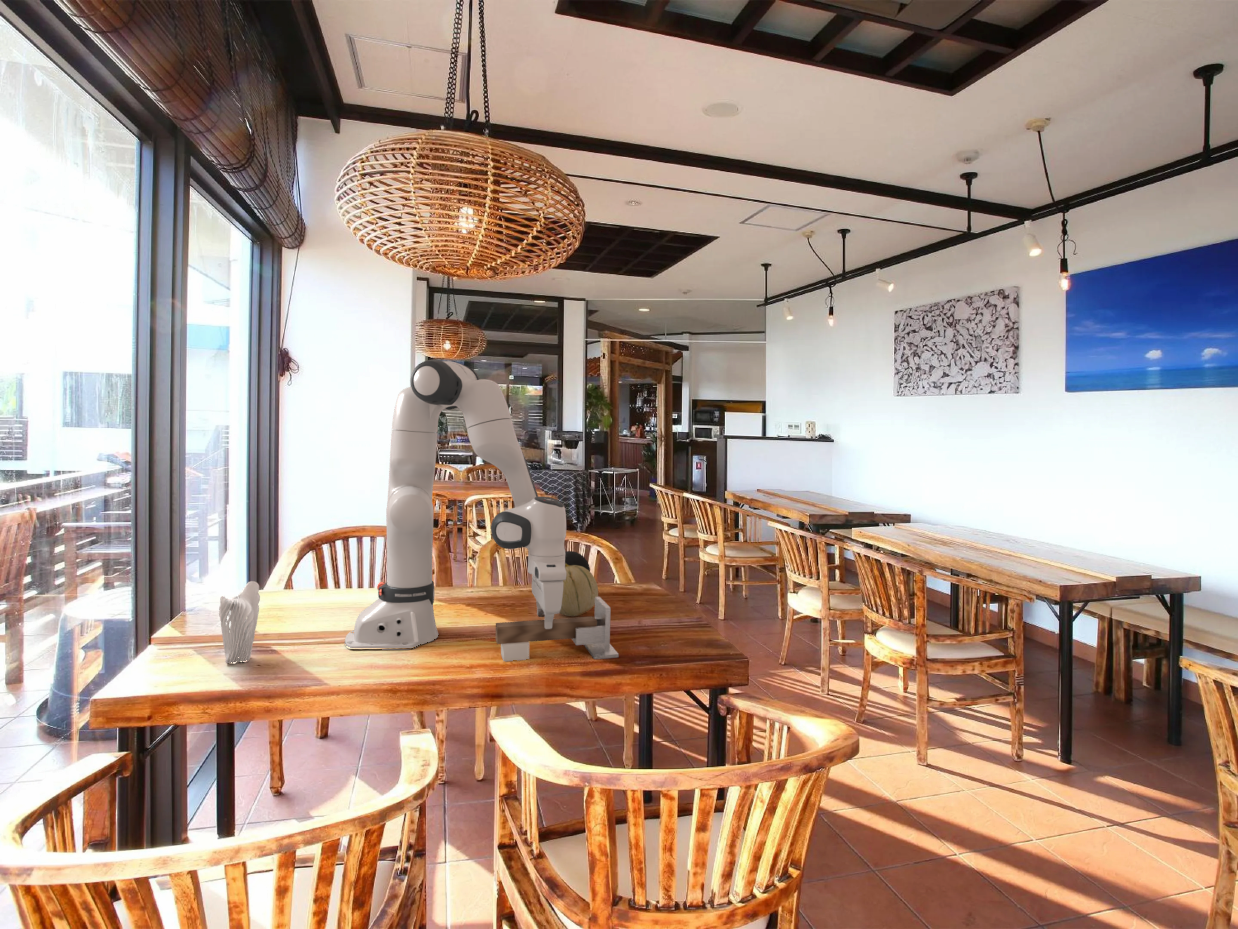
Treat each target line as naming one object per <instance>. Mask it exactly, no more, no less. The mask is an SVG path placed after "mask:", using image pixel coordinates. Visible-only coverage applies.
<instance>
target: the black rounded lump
mask: <svg viewBox="0 0 1238 929" xmlns="http://www.w3.org/2000/svg"><path fill="white" fill-rule="evenodd" d="M565 564H567V565H570V566H572V565H577V566H582V567H584V568H586V569H587V570H589V571H590V572H591V567H590V564H589V562H588V560H587V559H586V558H585V557H584V556H583V555H582V554H581V553H579V552H577V551H573V550H565Z"/></svg>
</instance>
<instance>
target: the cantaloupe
mask: <svg viewBox="0 0 1238 929" xmlns="http://www.w3.org/2000/svg"><path fill="white" fill-rule="evenodd" d="M565 569H566V580H563V597H562V606H561V610H560V613H559V615H562V616H566V617H579V616H581V615H583V614H585V613H587V612H589V611H591V609H593V607H595V597H599V589H598V587H599V586H598V583H597V581H596V580H597V579H596V578H595V576H594V575H593V573H591V570H590V571H589V570H587V569H586V568H584V567H582V566H577V565H572V566H570V565H567V564H565Z"/></svg>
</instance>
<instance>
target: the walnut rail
mask: <svg viewBox="0 0 1238 929" xmlns="http://www.w3.org/2000/svg"><path fill="white" fill-rule="evenodd" d="M544 620H545V619H535V620H521V621H504V622H496V623H495V641H496V642H495V643H496V644H497V645H501V644H507V643H520V642H529V643H530V642H533V643H534V642H543V641H544V642H545V641H556V640H557V641H559V640H569V639H570V640H572V639H573V638H575V628H576V627H590V626H597V620H596V619H595V616H580V617H579V616H576V617H564V618H553V623H552V628H551V629H545V627H544Z"/></svg>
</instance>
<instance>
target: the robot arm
mask: <svg viewBox="0 0 1238 929" xmlns="http://www.w3.org/2000/svg"><path fill="white" fill-rule="evenodd" d="M454 409H459V410H460V412H461V413H462V417H463V418H464V423H465V428H466V431H467V435H468V436H467V437H468V440H469V443H470V445H471V448H472V450H473V452H474V453H475V455H476V456H478V458H480V459H481V460H484V461H485V462H487V463H489V464H491V465H493V466H494V467H496V468H497V469H499V470H500V471H501V473H502V474H503V475H504V477H505V479H506V482H507V485H508V488H509V492H510V494H511V495H510V496H511V498H512V501H513V504H514V507H513V508H509V509H505V510H503V511H501V512H499V513H497V514H496V515H495V516H494V518H493V520H492V521H491V525H490V533H491V536H492V539H493V541H494V542H495V544H496V545H498V546H499V547H500V548H501V549H506V550H515V549H521V548H525V549H527V551H528V552H527V553H528V554H527V555H528V556H527V573H528V574H529V575H532V576H531V593H532V594H533V597H534V598H535V600H536V601H535V602H536V615H537V617H538V618H544V619H543V620H544V627H545V629H551V628H552V623H553V619H555V618H554V617H555V615H556V614H557V615H558V614H559V615H560V610H561V606H562V597H563V580H566V569H565V552H566V550H565V540H566V537H567V515H566V508H565V505H564V504H563V502H562V501H560V500H558V499H557V498H554V497H549V496H539V495H538V492H537V489H536V487H535V483H534V480H533V477H532V474H531V470H530V468H529V465H528V463H527V460H526V457H525V454H524V453H523V450H522V448H521V445H520V443H519V441H518V438H517V435H516V430H515V427H514V424H513V420H512V415H511V412H510V409H509V406H508V403H507V401H506V398H505V396H504V393H503V391H502V388H501V386H500V385H499V384H498V383H497V382H496V381H495V380H491V379H486V378H485V379H484V378H481V377H480V375H479V374H478V373H477V372H476V371H475V370H474V369H473V368H471V367H470V366H468V365H465V364H460V363H458V362H454V361H453V360H452V361H451V360H447V361H445V360H440V359H428V360H424V361H422V362H419V364H417V365H416V366H415V368H414V369H413V370H412V372H411V375H410V386H408V387H406V388H403V389H402V390H400V392H399V393H398V395H397V398H396V402H395V406H394V410H393V416H392V423H391V434H390V435H391V437H390V438H391V439H390V452H389V454H390V455H389V468H388V469H389V471H388V489H387V503H386V582H383V581H380V582H378V583H377V585H376V586H377V587H376V589H377V591H378V592H377V596H378V597H377V600H375V601H374V602H373V603H371V604H370V605H369V606H367V607H366V608H364V609H363V610H362V611H361V612H360V613H359V614H358V616H357V618H356V620H355V624H354V629H353V630H351V631H350V632H348V633H347V634H346V636H345V638H344V645H345V644H346V646H348V647H350V648H413V647H415V648H417V647H419V646H421V645H424V644H427V642H428V643H430V642H433V641H435V640H436V639H437V638H439V636H438V635H439V631H438V628H437V624H436V618H435V612H434V603H435V585H434V584H435V582H434V580H433V548H434V547H433V546H434V504H433V491H434V490H433V489H434V482H435V481H434V480H435V470H436V462H437V461H436V460H437V445H438V431H439V430H438V428H439V427H438V426H439V419H440V414H441V413H442V411H444V410H448V411H450V410H454ZM351 632H352V633H351ZM353 632H354V633H353ZM434 639H435V640H434ZM420 644H421V645H420ZM418 645H419V646H418ZM346 646H345V647H346ZM416 646H417V647H416ZM413 649H414V648H413Z"/></svg>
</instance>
